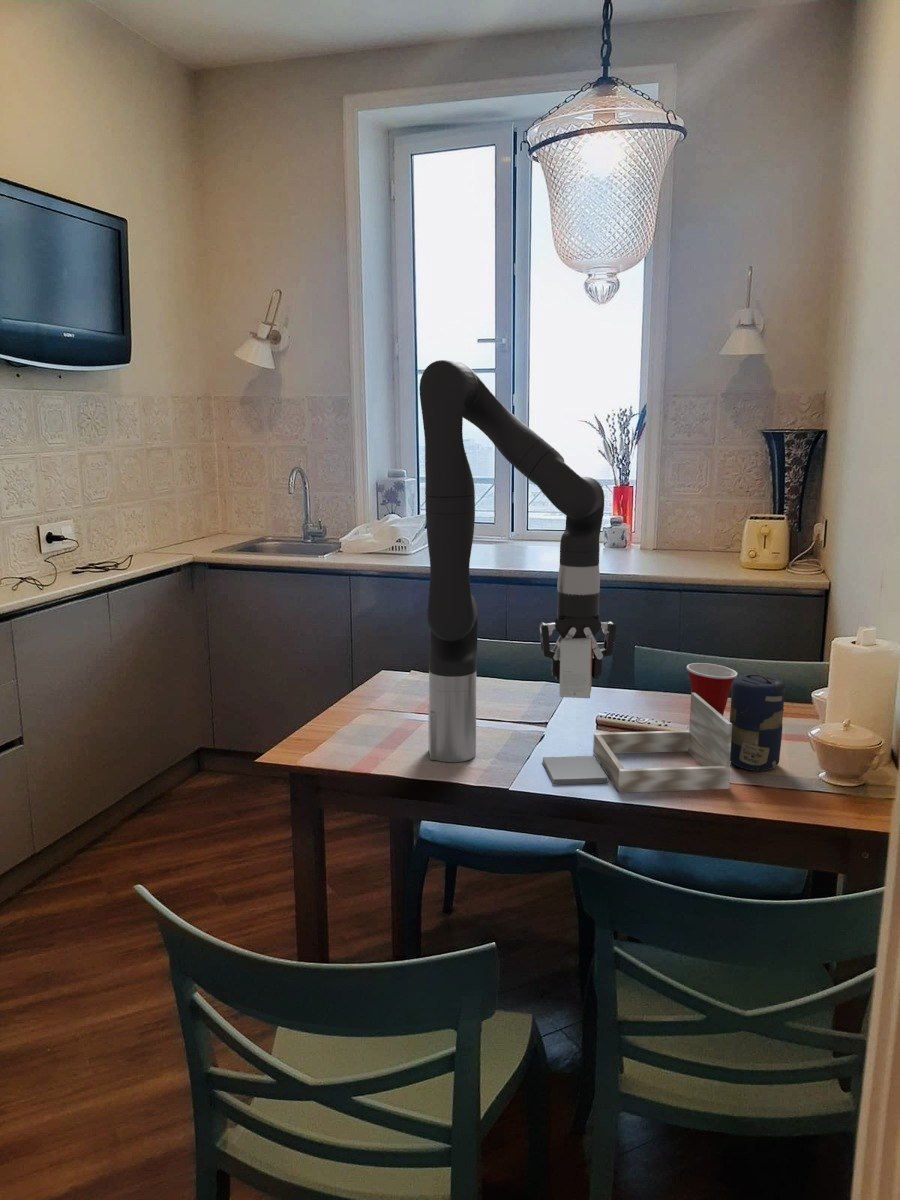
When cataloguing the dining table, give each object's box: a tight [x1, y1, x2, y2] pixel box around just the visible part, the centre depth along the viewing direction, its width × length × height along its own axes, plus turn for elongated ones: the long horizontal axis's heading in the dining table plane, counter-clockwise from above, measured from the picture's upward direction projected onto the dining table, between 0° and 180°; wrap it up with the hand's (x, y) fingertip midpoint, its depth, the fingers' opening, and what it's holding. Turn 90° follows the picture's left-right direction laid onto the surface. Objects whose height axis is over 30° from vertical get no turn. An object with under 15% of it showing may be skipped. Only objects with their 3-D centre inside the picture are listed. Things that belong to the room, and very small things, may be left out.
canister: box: [729, 673, 786, 771], centre depth 170 cm, size 10×10×18 cm
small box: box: [559, 638, 594, 699], centre depth 164 cm, size 8×6×10 cm
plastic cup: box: [686, 662, 738, 717], centre depth 196 cm, size 11×11×12 cm
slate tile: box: [542, 755, 609, 785], centre depth 168 cm, size 10×11×1 cm
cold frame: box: [592, 692, 732, 793], centre depth 168 cm, size 20×20×12 cm
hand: (576, 678), depth 164 cm, fingers closed on small box, 6 cm apart
